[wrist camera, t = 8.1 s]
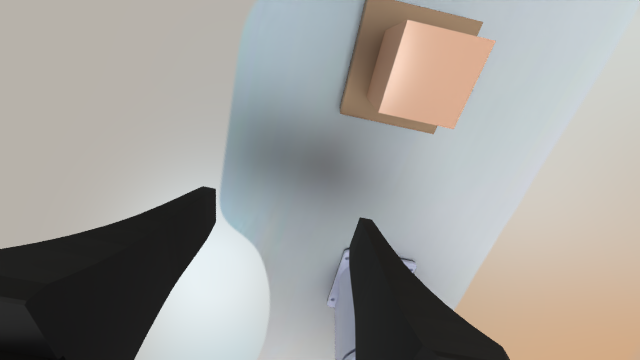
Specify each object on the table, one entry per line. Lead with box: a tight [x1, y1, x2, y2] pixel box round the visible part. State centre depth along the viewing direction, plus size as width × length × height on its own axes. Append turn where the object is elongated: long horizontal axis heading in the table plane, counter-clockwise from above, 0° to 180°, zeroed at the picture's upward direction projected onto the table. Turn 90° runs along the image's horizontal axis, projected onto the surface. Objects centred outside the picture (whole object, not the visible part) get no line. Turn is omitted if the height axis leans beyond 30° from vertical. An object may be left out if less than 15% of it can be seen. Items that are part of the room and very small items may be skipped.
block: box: [367, 20, 496, 129], centre depth 13 cm, size 4×4×5 cm
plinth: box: [340, 0, 483, 134], centre depth 17 cm, size 7×7×2 cm
